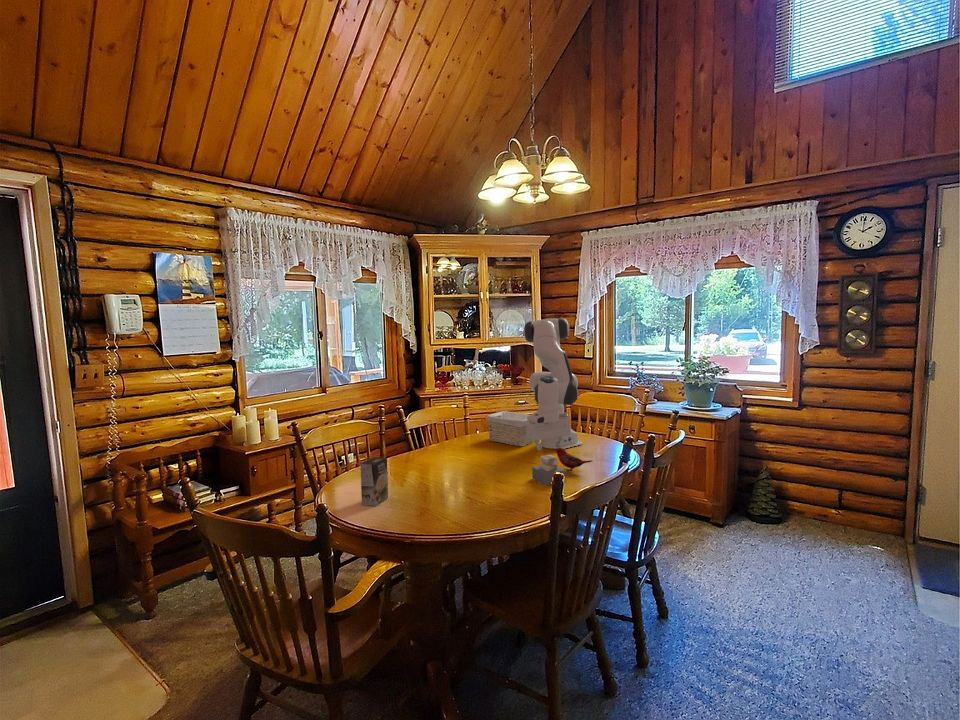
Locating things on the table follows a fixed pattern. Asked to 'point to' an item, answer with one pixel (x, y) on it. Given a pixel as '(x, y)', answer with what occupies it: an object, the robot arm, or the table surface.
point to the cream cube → (548, 462)
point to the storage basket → (508, 428)
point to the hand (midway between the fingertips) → (548, 448)
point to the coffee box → (374, 481)
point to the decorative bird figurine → (569, 459)
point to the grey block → (545, 474)
